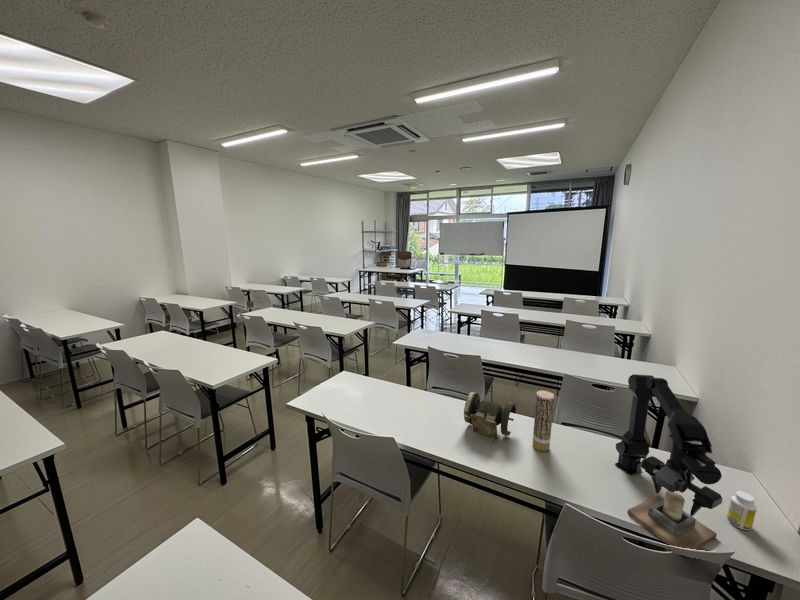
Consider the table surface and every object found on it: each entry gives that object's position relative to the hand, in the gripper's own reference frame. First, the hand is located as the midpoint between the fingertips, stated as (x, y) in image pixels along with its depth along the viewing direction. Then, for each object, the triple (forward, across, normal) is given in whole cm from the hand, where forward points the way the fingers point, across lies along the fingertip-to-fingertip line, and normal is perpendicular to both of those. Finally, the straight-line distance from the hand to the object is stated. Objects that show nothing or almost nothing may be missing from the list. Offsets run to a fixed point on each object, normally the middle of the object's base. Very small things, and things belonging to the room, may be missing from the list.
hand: (674, 503), depth 100 cm
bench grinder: (+8, -63, -23) cm, 68 cm away
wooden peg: (+6, 0, 0) cm, 7 cm away
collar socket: (+8, 0, 0) cm, 8 cm away
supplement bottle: (+8, +8, +21) cm, 24 cm away
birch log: (+8, -45, -8) cm, 47 cm away
